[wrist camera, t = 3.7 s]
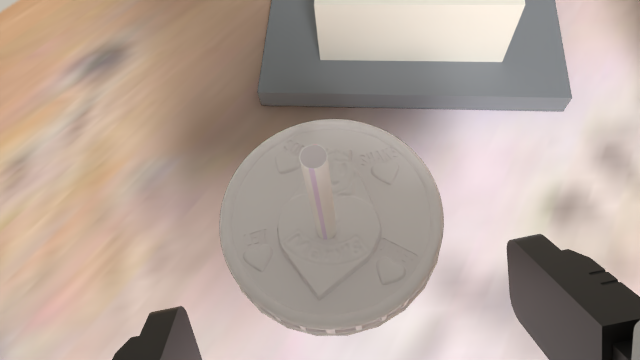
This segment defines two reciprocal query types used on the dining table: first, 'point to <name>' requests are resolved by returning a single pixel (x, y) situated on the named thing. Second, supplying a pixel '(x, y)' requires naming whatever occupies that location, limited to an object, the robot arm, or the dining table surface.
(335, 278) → the smoothie
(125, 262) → the dining table surface
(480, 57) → the socket board
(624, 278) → the dining table surface
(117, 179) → the dining table surface
